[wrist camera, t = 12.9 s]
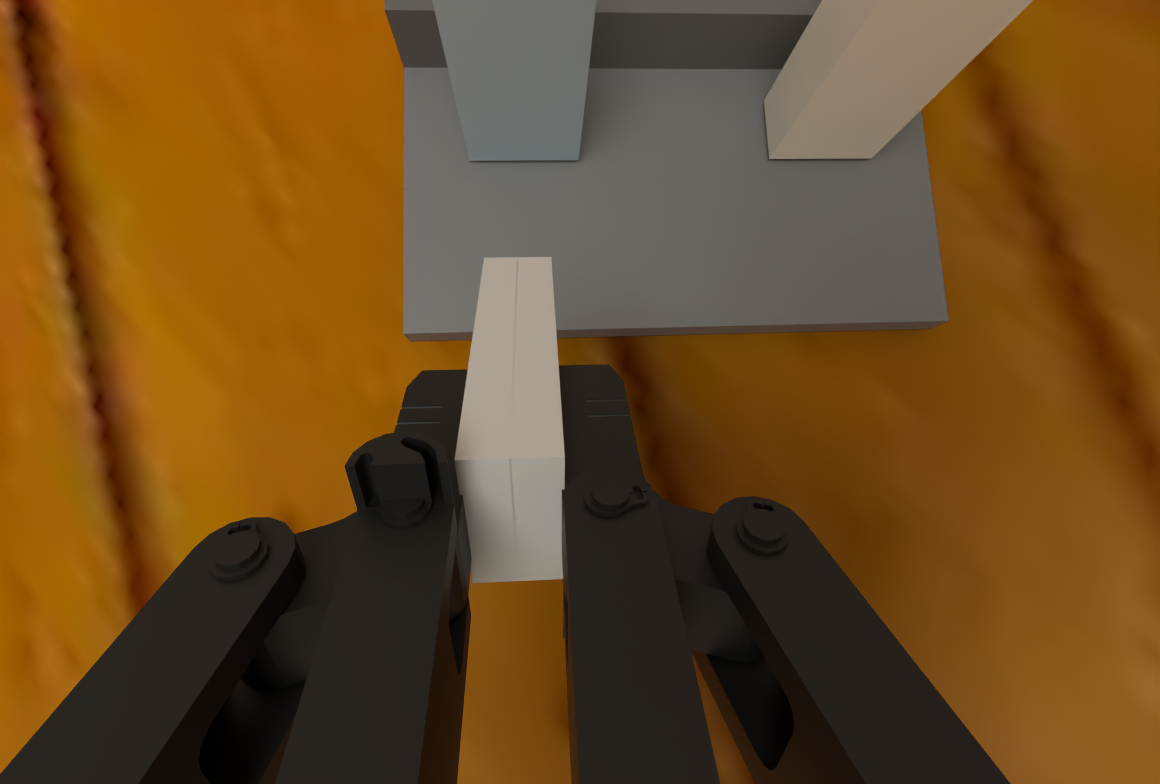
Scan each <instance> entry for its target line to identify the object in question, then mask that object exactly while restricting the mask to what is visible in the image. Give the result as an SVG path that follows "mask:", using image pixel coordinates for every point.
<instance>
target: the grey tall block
mask: <svg viewBox="0 0 1160 784" xmlns="http://www.w3.org/2000/svg"><path fill="white" fill-rule="evenodd" d="M432 2H433V6H434V10H435V15H436V19H437V23H438V28H439V32H440V36H441V41H442V45H443V49H444V54H445V58H446V62H447V67H448V71H449V75H450V80H451V84H452V88H453V93H454V97H455V101H456V106H457V110H458V114H459V119H460V123H461V127H462V132H463V136H464V140H465V145H466V149H467V153H468V157H469V161H511V160H579V152H580V143H581V134H582V125H583V116H584V107H585V98H586V89H587V80H588V71H589V62H590V53H591V44H592V35H593V26H594V17H595V8H596V0H432Z"/></svg>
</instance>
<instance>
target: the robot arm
mask: <svg viewBox="0 0 1160 784" xmlns="http://www.w3.org/2000/svg"><path fill="white" fill-rule="evenodd" d="M626 399H627V398H626V393H625V389H624V384H623V380H622V379H621V378H620V376H619V375H618V374H617V373H616V372H615V371H614V370H613V369H612V368H611V367H610V365H566V366H559V364H558V349H557V334H556V319H555V305H554V290H553V275H552V260H551V257H496V258H484V262H483V268H482V275H481V282H480V289H479V296H478V303H477V310H476V316H475V323H474V330H473V337H472V344H471V351H470V358H469V364H468V370H426V371H422V372H421V373H420V374H419V375H418V376H417V377H416V378H415V379H414V380H413V381H412V382H411V383H410V384H409V385H408V386H407V388H406V392H405V395H404V399H403V403H402V410H400V413H399V417H398V421H397V425H396V428H395V431H394V433H390V434H385V435H382V436H380V437H377V438H375V439H373V440H370V441H368V442H366V443H365V444H364V445H362V446H361V447H360V448H358V449H357V450H356V451H354V452H353V453H352V455H351V457H350V458H349V460H348V461H347V463H346V464H345V469H346V472H347V476H348V479H349V483H350V486H351V489H352V493H353V496H354V499H355V503H356V506H357V511H356V512H355V513H353V514H351V515H349V516H348V517H346V518H344V519H342V520H339V521H336V522H334V523H331V524H328V525H325V526H321V527H318V528H314V529H311V530H307V531H304V532H300V533H297V534H294V533H293V532H292V530H291V529H290V528H289V527H288V526H287V525H286V523H284V522H281V521H279V520H276V519H273V518H270V517H257V518H247V519H244V520H240V521H236V522H233V523H229V524H228V525H226V526H224V527H222V528H220V529H218V530H216V531H214V532H213V533H211V534H209V535H208V536H207V537H206V538H205V539H204V540H202V541H201V542H200V543H199V544H198V545H197V546H196V547H195V548H193V550H192V551H191V552H190V553H189V554H188V555H187V557H186V558H185V559H184V560H183V561H182V562H181V564H180V565H179V566H178V567H177V568H176V569H175V571H174V572H173V573H172V574H171V575H170V576H169V578H168V579H167V580H166V581H165V582H164V583H163V585H162V586H161V587H160V588H159V589H158V590H157V592H156V593H155V594H154V595H153V596H152V597H151V599H150V600H149V601H148V602H147V603H146V605H145V606H144V607H143V608H142V609H141V610H140V612H139V613H138V614H137V615H136V616H135V617H134V619H133V620H132V621H131V622H130V623H129V624H128V626H127V627H126V628H125V629H124V630H123V631H122V633H121V634H120V635H119V636H118V637H117V638H116V640H115V641H114V642H113V643H112V644H111V645H110V647H109V648H108V649H107V650H106V651H105V652H104V654H103V655H102V656H101V657H100V658H99V659H98V661H97V662H96V663H95V664H94V665H93V666H92V668H91V669H90V670H89V671H88V672H87V673H86V675H85V676H84V677H83V678H82V679H81V680H80V682H79V683H78V684H77V685H76V686H75V687H74V689H73V690H72V691H71V692H70V693H69V694H68V696H67V697H66V698H65V699H64V700H63V701H62V703H61V704H60V705H59V706H58V707H57V708H56V710H55V711H54V712H53V713H52V714H51V715H50V717H49V718H48V719H47V720H46V721H45V722H44V724H43V725H42V726H41V727H40V728H39V730H38V731H37V732H36V733H35V734H34V735H33V737H32V738H31V739H30V740H29V741H28V742H27V744H26V745H25V746H24V747H23V748H22V749H21V751H20V752H19V753H18V754H17V755H16V756H15V758H14V759H13V760H12V761H11V762H10V763H9V765H8V766H7V767H6V768H5V769H4V770H3V772H2V773H1V774H0V784H457V775H458V764H459V752H460V740H461V728H462V716H463V704H464V693H465V681H466V669H467V657H468V645H469V633H470V622H471V611H470V604H469V597H468V591H469V581H470V570H471V577H472V583H486V582H508V581H530V580H552V579H563V588H564V625H563V638H565V652H566V673H567V695H568V716H569V737H570V759H571V780H572V784H720V781H719V776H718V772H717V767H716V763H715V759H714V754H713V750H712V745H711V741H710V736H709V732H708V727H707V723H706V718H705V714H704V709H703V705H702V700H701V696H700V691H699V687H698V682H697V678H696V673H695V669H694V664H693V660H692V656H691V651H692V654H693V656H694V658H695V660H696V662H697V664H698V666H699V668H700V670H701V672H702V674H703V677H704V679H705V681H706V683H707V685H708V687H709V689H710V691H711V693H712V695H713V697H714V699H715V701H716V703H717V705H718V707H719V709H720V711H721V713H722V716H723V718H724V720H725V722H726V724H727V726H728V728H729V730H730V732H731V734H732V736H733V738H734V740H735V742H736V744H737V746H738V748H739V750H740V753H741V755H742V757H743V759H744V761H745V763H746V765H747V767H748V769H749V771H750V773H751V775H752V777H753V779H754V781H755V783H756V784H1010V783H1009V781H1008V780H1007V779H1006V777H1005V776H1004V775H1003V774H1002V772H1001V771H1000V770H999V769H998V767H997V766H996V765H995V763H994V762H993V761H992V760H991V758H990V757H989V756H988V755H987V753H986V752H985V751H984V750H983V748H982V747H981V746H980V744H979V743H978V742H977V741H976V739H975V738H974V737H973V736H972V734H971V733H970V732H969V730H968V729H967V728H966V727H965V725H964V724H963V723H962V722H961V720H960V719H959V718H958V717H957V715H956V714H955V713H954V711H953V710H952V709H951V708H950V706H949V705H948V704H947V703H946V701H945V700H944V699H943V697H942V696H941V695H940V694H939V692H938V691H937V690H936V689H935V687H934V686H933V685H932V684H931V682H930V681H929V680H928V678H927V677H926V676H925V675H924V673H923V672H922V671H921V670H920V668H919V667H918V666H917V664H916V663H915V662H914V661H913V659H912V658H911V657H910V656H909V654H908V653H907V652H906V651H905V649H904V648H903V647H902V645H901V644H900V643H899V642H898V640H897V639H896V638H895V637H894V635H893V634H892V633H891V632H890V630H889V629H888V628H887V626H886V625H885V624H884V623H883V621H882V620H881V619H880V618H879V616H878V615H877V614H876V612H875V611H874V610H873V609H872V607H871V606H870V605H869V604H868V602H867V601H866V600H865V599H864V597H863V596H862V595H861V593H860V592H859V591H858V590H857V588H856V587H855V586H854V585H853V583H852V582H851V581H850V579H849V578H848V577H847V576H846V574H845V573H844V572H843V571H842V569H841V568H840V567H839V566H838V564H837V563H836V562H835V560H834V559H833V558H832V557H831V555H830V554H829V553H828V552H827V550H826V549H825V548H824V546H823V545H822V544H821V543H820V541H819V540H818V539H817V538H816V536H815V535H814V534H813V533H812V531H811V530H810V529H809V527H808V526H807V525H806V524H805V522H804V521H803V520H802V519H800V518H799V517H798V516H797V515H796V514H795V513H794V512H793V511H792V510H791V509H789V508H787V507H785V506H783V505H781V504H779V503H777V502H775V501H773V500H769V499H764V498H759V497H755V496H754V497H740V498H735V499H733V500H731V501H729V502H726V503H724V504H723V505H722V506H721V507H720V508H719V509H718V511H717V512H716V513H715V514H711V513H706V512H702V511H697V510H693V509H688V508H685V507H682V506H679V505H675V504H673V503H671V502H669V501H667V500H666V499H664V498H662V497H661V496H659V495H658V494H657V493H656V492H655V491H653V490H652V488H651V486H650V485H649V484H648V483H647V482H646V480H645V478H644V475H643V473H642V469H641V464H640V459H639V455H638V450H637V445H636V441H635V436H634V431H633V426H632V422H631V417H630V412H629V407H628V403H627V400H626ZM690 649H691V651H690Z"/></svg>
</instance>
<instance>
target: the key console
mask: <svg viewBox="0 0 1160 784" xmlns="http://www.w3.org/2000/svg"><path fill="white" fill-rule="evenodd" d="M821 1H822V0H596V8H595V17H594V26H593V35H592V44H591V53H590V62H589V71H588V80H587V89H586V98H585V107H584V116H583V125H582V134H581V143H580V152H579V160H511V161H469V157H468V153H467V149H466V145H465V140H464V136H463V132H462V127H461V123H460V119H459V114H458V110H457V106H456V101H455V97H454V93H453V88H452V84H451V80H450V75H449V71H448V67H447V62H446V58H445V54H444V49H443V45H442V41H441V36H440V32H439V28H438V23H437V19H436V15H435V10H434V6H433V2H432V0H385V12H386V15H387V18H388V21H389V24H390V27H391V30H392V33H393V36H394V39H395V42H396V45H397V48H398V51H399V54H400V57H401V60H402V63H403V66H404V301H403V334H404V335H405V336H406V337H407V338H408V339H409V340H410V341H447V340H472V337H473V330H474V323H475V316H476V310H477V303H478V296H479V289H480V282H481V275H482V268H483V262H484V258H496V257H551V260H552V275H553V290H554V305H555V319H556V334H557V338H571V337H612V336H654V335H695V334H736V333H778V332H819V331H860V330H901V329H929V328H932V327H934V326H937V325H939V324H942V323H945V322H947V321H949V319H948V311H947V303H946V296H945V288H944V280H943V273H942V265H941V257H940V250H939V242H938V234H937V226H936V219H935V211H934V203H933V196H932V188H931V180H930V173H929V165H928V157H927V150H926V142H925V134H924V127H923V119H922V111H920V112H919V113H918V114H917V115H915V116H914V117H913V118H912V119H911V120H910V121H909V122H908V123H907V124H906V125H905V126H904V127H903V128H902V129H901V130H900V131H899V132H898V133H897V134H896V135H895V136H894V137H893V138H892V139H891V140H890V141H889V142H888V143H887V144H886V145H885V146H884V147H883V148H882V149H881V150H880V151H879V152H878V153H877V154H876V155H875V156H874V157H873V158H861V159H769V152H768V140H767V129H766V118H765V107H764V99H765V98H766V96H767V94H768V92H769V91H770V89H771V87H772V86H773V84H774V82H775V80H776V79H777V77H778V75H779V74H780V72H781V70H782V68H783V67H784V65H785V63H786V61H787V60H788V58H789V56H790V55H791V53H792V51H793V49H794V48H795V46H796V44H797V43H798V41H799V39H800V37H801V36H802V34H803V32H804V31H805V29H806V27H807V25H808V24H809V22H810V20H811V18H812V17H813V15H814V13H815V12H816V10H817V8H818V6H819V5H820V3H821Z"/></svg>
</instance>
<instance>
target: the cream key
mask: <svg viewBox="0 0 1160 784" xmlns="http://www.w3.org/2000/svg"><path fill="white" fill-rule="evenodd" d="M1032 1H1033V0H822V1H821V3H820V5H819V6H818V8H817V10H816V12H815V13H814V15H813V17H812V18H811V20H810V22H809V24H808V25H807V27H806V29H805V31H804V32H803V34H802V36H801V37H800V39H799V41H798V43H797V44H796V46H795V48H794V49H793V51H792V53H791V55H790V56H789V58H788V60H787V61H786V63H785V65H784V67H783V68H782V70H781V72H780V74H779V75H778V77H777V79H776V80H775V82H774V84H773V86H772V87H771V89H770V91H769V92H768V94H767V96H766V98H765V99H764V107H765V118H766V129H767V140H768V152H769V159H861V158H873V157H874V156H875V155H876V154H877V153H878V152H879V151H880V150H881V149H882V148H883V147H884V146H885V145H886V144H887V143H888V142H889V141H890V140H891V139H892V138H893V137H894V136H895V135H896V134H897V133H898V132H899V131H900V130H901V129H902V128H903V127H904V126H905V125H906V124H907V123H908V122H909V121H910V120H911V119H912V118H913V117H914V116H915V115H917V114H918V113H919V112H920V111H921V110H922V109H923V108H924V107H925V106H926V105H927V104H928V103H929V102H930V101H931V100H932V99H933V98H934V97H935V96H936V95H937V94H938V93H939V92H940V91H941V90H942V89H943V88H944V87H945V86H946V85H947V84H948V83H949V82H950V81H951V80H952V79H953V78H954V77H955V76H956V75H957V74H958V73H959V72H960V71H961V70H962V69H963V68H965V67H966V66H967V65H968V64H969V63H970V62H971V61H972V60H973V59H974V58H975V57H976V56H977V55H978V54H979V53H980V52H981V51H982V50H983V49H984V48H985V47H986V46H987V45H988V44H989V43H990V42H991V41H992V40H993V39H994V38H995V37H996V36H997V35H998V34H999V33H1000V32H1001V31H1002V30H1003V29H1004V28H1005V27H1006V26H1007V25H1008V24H1009V23H1010V22H1011V21H1013V20H1014V19H1015V18H1016V17H1017V16H1018V15H1019V14H1020V13H1021V12H1022V11H1023V10H1024V9H1025V8H1026V7H1027V6H1028V5H1029V4H1030V3H1031V2H1032Z"/></svg>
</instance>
